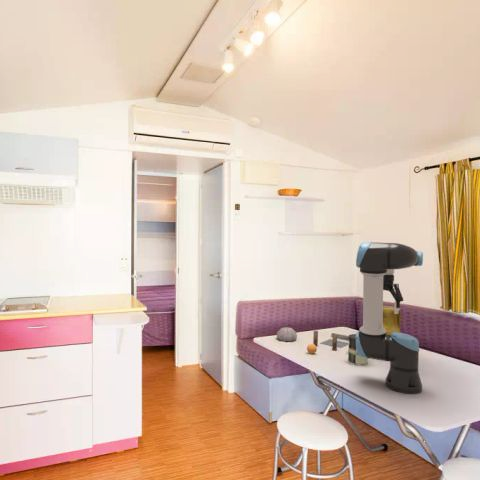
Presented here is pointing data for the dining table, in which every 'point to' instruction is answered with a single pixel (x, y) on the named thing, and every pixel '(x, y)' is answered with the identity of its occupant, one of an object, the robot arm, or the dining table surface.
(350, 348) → the coffee can
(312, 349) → the ball
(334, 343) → the right post
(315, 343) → the left post
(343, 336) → the wall
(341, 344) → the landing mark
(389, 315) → the pitcher
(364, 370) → the dining table surface
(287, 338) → the sea urchin shell
